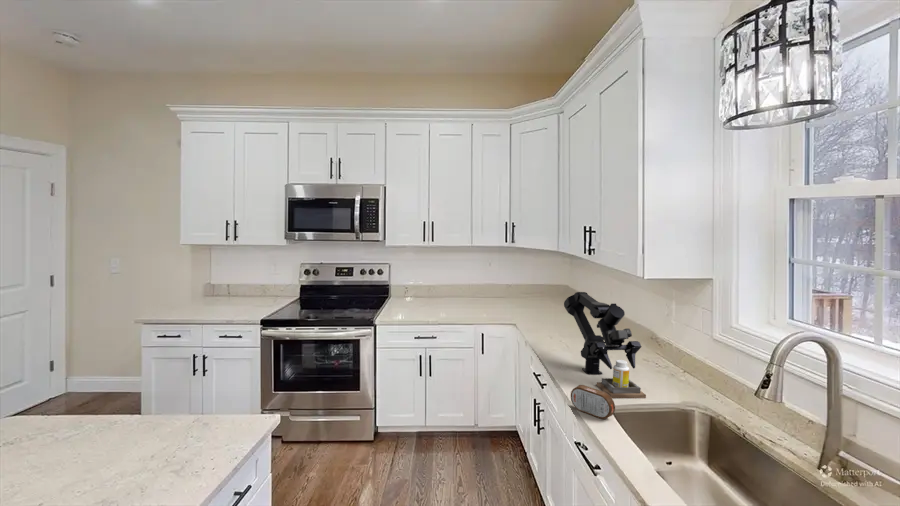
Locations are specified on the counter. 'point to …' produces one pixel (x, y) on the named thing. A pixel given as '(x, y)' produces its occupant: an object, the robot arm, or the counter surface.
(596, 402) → the tin
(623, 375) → the supplement bottle
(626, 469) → the counter surface
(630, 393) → the collar base
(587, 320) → the robot arm
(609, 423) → the counter surface
